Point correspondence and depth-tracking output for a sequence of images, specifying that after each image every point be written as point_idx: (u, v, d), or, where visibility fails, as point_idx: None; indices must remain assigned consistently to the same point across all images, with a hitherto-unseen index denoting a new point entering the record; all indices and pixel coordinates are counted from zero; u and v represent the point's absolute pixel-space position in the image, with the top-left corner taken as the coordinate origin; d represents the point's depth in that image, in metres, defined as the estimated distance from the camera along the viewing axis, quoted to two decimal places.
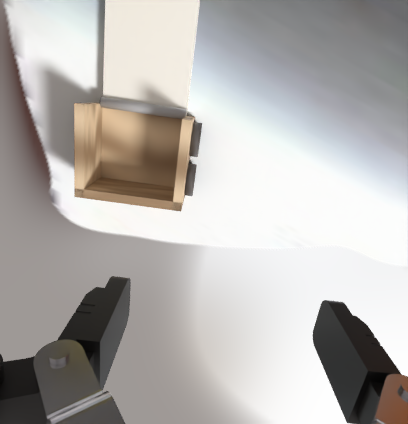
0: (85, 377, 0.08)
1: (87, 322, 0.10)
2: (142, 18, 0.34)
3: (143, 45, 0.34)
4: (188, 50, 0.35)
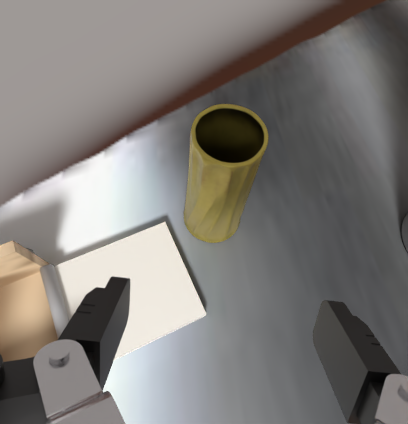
0: (85, 377, 0.08)
1: (87, 322, 0.10)
2: (156, 267, 0.30)
3: (131, 282, 0.29)
4: (153, 332, 0.27)
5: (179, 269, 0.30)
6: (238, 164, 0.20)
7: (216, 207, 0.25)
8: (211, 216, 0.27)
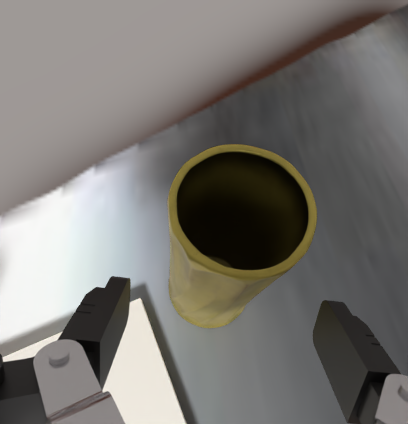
0: (85, 377, 0.08)
1: (87, 322, 0.10)
2: (124, 374, 0.20)
3: None
4: None
5: (157, 377, 0.20)
6: (261, 274, 0.10)
7: (215, 307, 0.15)
8: (207, 311, 0.17)
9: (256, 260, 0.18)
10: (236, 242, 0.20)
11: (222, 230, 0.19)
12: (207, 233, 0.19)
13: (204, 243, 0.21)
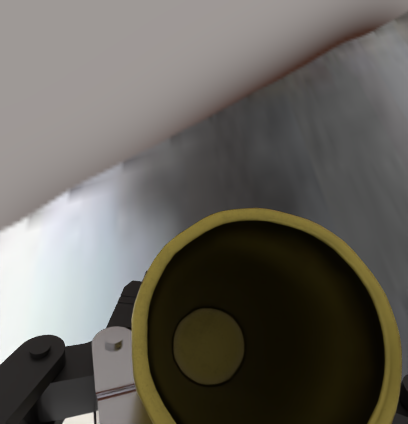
0: None
1: (132, 312, 0.10)
2: None
3: None
4: None
5: None
6: None
7: None
8: None
9: (272, 336, 0.13)
10: (243, 303, 0.15)
11: (225, 291, 0.14)
12: (205, 293, 0.15)
13: (201, 299, 0.16)
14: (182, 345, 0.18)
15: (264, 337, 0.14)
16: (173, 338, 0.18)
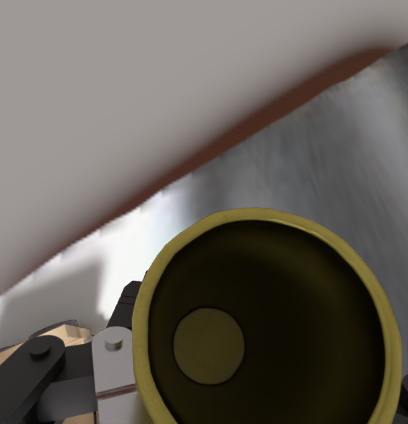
0: None
1: (132, 312, 0.10)
2: None
3: None
4: None
5: None
6: None
7: None
8: None
9: (272, 335, 0.13)
10: (243, 303, 0.15)
11: (225, 290, 0.14)
12: (205, 292, 0.15)
13: (202, 299, 0.16)
14: (182, 345, 0.18)
15: (264, 337, 0.14)
16: (173, 338, 0.18)
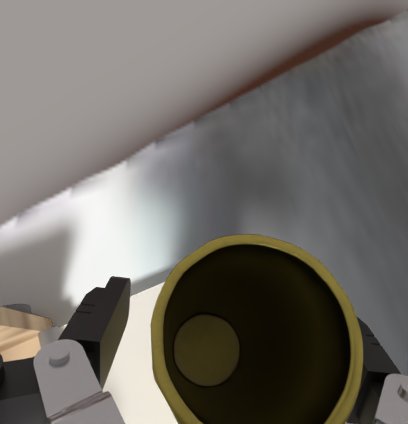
0: (85, 377, 0.08)
1: (87, 322, 0.10)
2: None
3: None
4: None
5: None
6: None
7: None
8: None
9: (264, 340, 0.15)
10: (239, 310, 0.16)
11: (222, 299, 0.16)
12: (204, 301, 0.16)
13: (201, 307, 0.18)
14: (182, 349, 0.19)
15: (257, 341, 0.16)
16: (173, 343, 0.19)
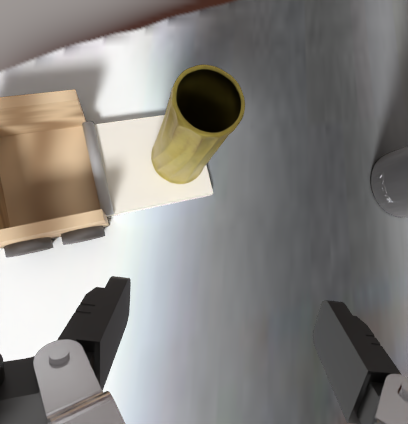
0: (85, 377, 0.08)
1: (87, 322, 0.10)
2: None
3: None
4: (170, 197, 0.34)
5: None
6: (209, 134, 0.21)
7: (182, 159, 0.27)
8: (176, 164, 0.28)
9: None
10: (202, 130, 0.31)
11: (195, 119, 0.29)
12: (185, 119, 0.30)
13: None
14: None
15: None
16: None
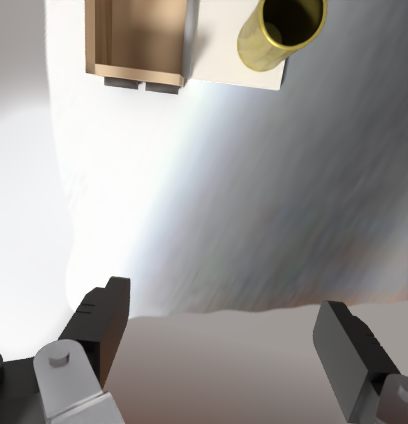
0: (85, 377, 0.08)
1: (87, 322, 0.10)
2: None
3: None
4: (241, 80, 0.38)
5: None
6: (278, 46, 0.24)
7: (257, 53, 0.30)
8: (252, 54, 0.32)
9: (292, 43, 0.31)
10: (291, 26, 0.32)
11: (287, 14, 0.30)
12: (279, 10, 0.31)
13: (275, 15, 0.33)
14: None
15: (289, 45, 0.32)
16: None
